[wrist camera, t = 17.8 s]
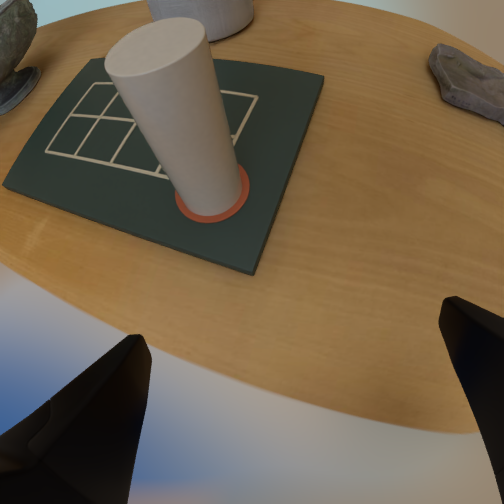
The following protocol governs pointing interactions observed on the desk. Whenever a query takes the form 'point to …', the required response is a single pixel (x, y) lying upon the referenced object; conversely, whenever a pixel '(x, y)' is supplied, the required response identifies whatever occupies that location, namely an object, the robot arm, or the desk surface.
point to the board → (152, 174)
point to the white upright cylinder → (179, 109)
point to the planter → (207, 14)
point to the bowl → (16, 52)
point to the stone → (468, 82)
